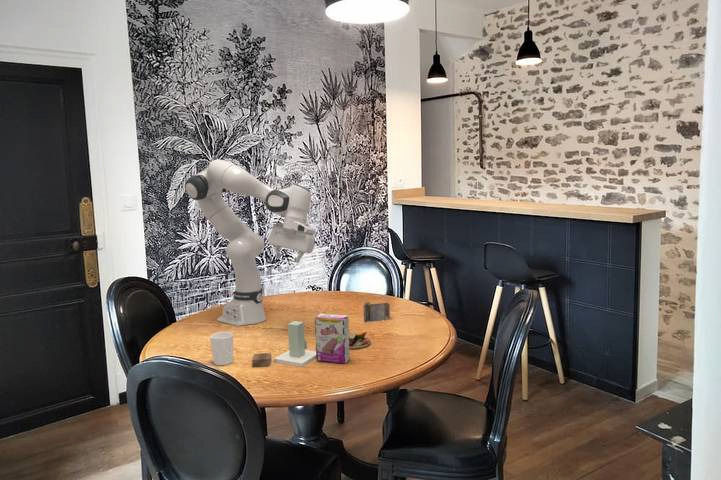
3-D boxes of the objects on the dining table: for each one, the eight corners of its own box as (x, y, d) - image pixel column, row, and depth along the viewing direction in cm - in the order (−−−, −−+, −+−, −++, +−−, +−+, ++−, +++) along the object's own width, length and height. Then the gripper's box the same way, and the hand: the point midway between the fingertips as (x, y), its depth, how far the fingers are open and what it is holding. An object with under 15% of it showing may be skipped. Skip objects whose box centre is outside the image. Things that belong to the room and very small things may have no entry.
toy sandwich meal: (364, 351, 197) (364, 339, 196) (330, 348, 201) (330, 336, 200) (374, 340, 208) (374, 329, 208) (342, 338, 212) (341, 326, 212)
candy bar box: (315, 361, 187) (313, 316, 185) (321, 356, 192) (319, 312, 189) (345, 364, 183) (343, 318, 181) (350, 359, 188) (348, 315, 186)
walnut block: (252, 368, 183) (251, 359, 183) (254, 361, 189) (254, 353, 189) (269, 367, 184) (269, 359, 183) (271, 361, 190) (271, 353, 189)
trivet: (274, 361, 188) (273, 358, 188) (292, 351, 199) (292, 347, 198) (302, 366, 183) (302, 363, 182) (320, 355, 193) (320, 352, 193)
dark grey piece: (365, 323, 232) (364, 301, 231) (363, 321, 235) (363, 300, 234) (390, 321, 235) (389, 299, 233) (388, 319, 238) (388, 298, 236)
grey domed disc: (287, 349, 201) (287, 343, 200) (296, 344, 206) (296, 338, 206) (301, 351, 198) (300, 345, 198) (309, 346, 203) (309, 340, 203)
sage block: (289, 356, 190) (288, 324, 188) (295, 352, 193) (294, 320, 191) (298, 357, 188) (297, 325, 186) (305, 354, 191) (303, 322, 190)
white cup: (214, 358, 193) (212, 332, 191) (236, 357, 193) (234, 331, 192) (210, 366, 185) (208, 339, 184) (233, 365, 186) (231, 338, 184)
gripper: (269, 220, 211) (261, 254, 211) (310, 229, 201) (302, 264, 201) (278, 223, 217) (271, 256, 217) (319, 231, 207) (312, 265, 207)
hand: (287, 260), depth 209 cm, fingers open, 8 cm apart
